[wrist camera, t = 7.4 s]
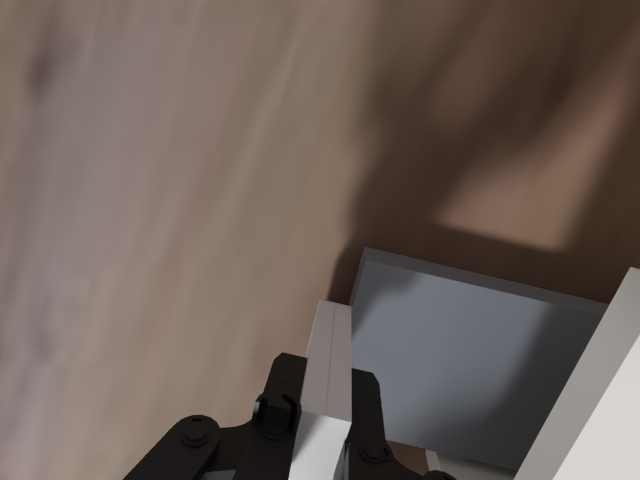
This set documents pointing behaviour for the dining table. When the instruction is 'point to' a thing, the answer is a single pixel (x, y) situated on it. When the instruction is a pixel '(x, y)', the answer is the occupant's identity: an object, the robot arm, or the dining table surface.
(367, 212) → the dining table surface
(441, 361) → the tile
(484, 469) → the overhang
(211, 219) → the dining table surface
